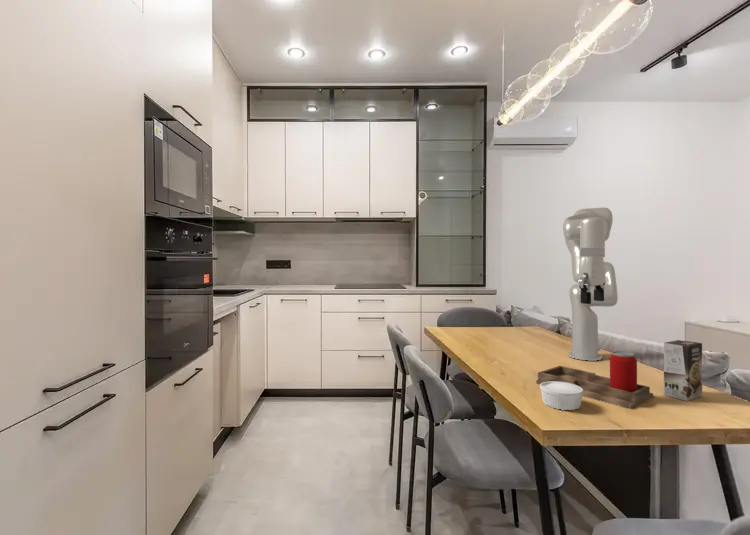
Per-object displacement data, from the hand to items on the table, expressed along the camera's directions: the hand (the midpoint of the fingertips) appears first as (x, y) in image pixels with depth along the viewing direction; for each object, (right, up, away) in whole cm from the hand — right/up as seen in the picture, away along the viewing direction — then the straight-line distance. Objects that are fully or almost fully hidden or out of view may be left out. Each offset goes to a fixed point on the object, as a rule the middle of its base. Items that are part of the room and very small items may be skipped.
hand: (592, 302), depth 130 cm
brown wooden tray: (-7, -27, -11) cm, 30 cm away
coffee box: (+17, -27, -18) cm, 36 cm away
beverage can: (-2, -26, -19) cm, 32 cm away
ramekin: (-23, -27, -24) cm, 43 cm away
